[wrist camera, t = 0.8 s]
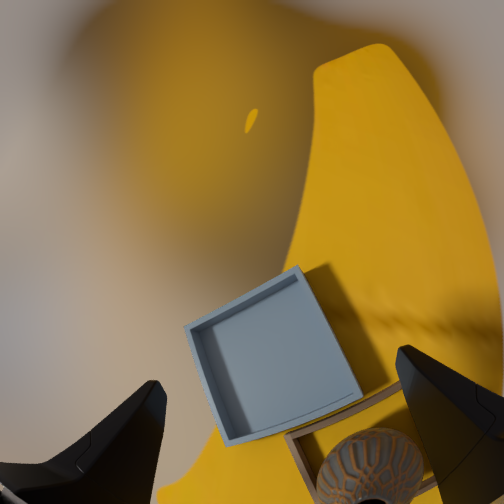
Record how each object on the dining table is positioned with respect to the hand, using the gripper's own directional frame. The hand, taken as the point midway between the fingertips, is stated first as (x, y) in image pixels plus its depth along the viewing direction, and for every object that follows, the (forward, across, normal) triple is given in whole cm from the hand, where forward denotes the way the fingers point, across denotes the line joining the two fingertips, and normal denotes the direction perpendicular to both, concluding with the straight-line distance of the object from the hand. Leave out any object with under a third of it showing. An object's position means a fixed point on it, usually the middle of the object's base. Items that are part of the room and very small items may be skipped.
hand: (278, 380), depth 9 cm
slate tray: (+10, +1, +8) cm, 13 cm away
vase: (+2, -6, +14) cm, 15 cm away
